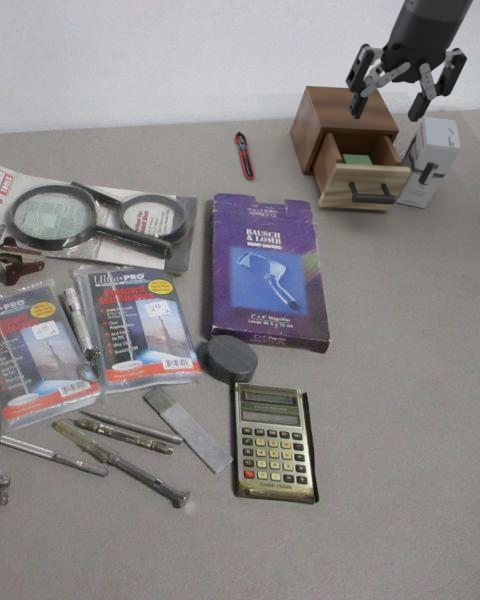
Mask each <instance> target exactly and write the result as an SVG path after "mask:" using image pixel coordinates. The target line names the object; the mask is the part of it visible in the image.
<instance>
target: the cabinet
mask: <svg viewBox="0 0 480 600" xmlns="http://www.w3.org/2000/svg"><path fill="white" fill-rule="evenodd" d="M354 93H355V92H354ZM354 93H352V92H351V91H350V90H349V88H348V87H338V86H317V85H313V86H312V85H306V86H305V88H304V91H303V93H302V97H301V100H300V102H299V105H298V108H297V111H296V114H295V117H294V119H293V122H292V125H291V129H290V131H289V135H290V137H291V140H292V144H293V147H294V150H295V154H296V157H297V159H298V160H297V161H298V163H299V166H300V170H301V173H302V175H306V176H307V175H308V176H315V175H314V172H313V169H312V166H311V164H312V162H313V159H314V157H315V154H316V152H317V149H318V147H319V144H320V142H321V139H322V137H323V134H324V132H325V131H332V132H351V133H371V134H388V136H389V138H390V140H391V142H392V144H393V145H394V142H395V141H396V139H397V137H398V134H399V133H400V129H399V127H398V126H397V123H396V121H395V120H394V118H393V116H392V114H391V111H390V110H389V108H388V106H387V103H386V102H385V100H384V98H383V96H382V94H381V92H380V91H379V88H377V89H376V90H375V91H374V92H372V93H371V94H370V95H368V97H369V98H368V101H367V103H366V105H365V107H364V110H363V112H362V114H361V117H360V119H353V117H352V115H351V113H350V111H349V106H350V104H351V101H352V98H353V96H354Z"/></svg>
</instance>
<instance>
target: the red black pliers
mask: <svg viewBox="0 0 480 600" xmlns="http://www.w3.org/2000/svg"><path fill="white" fill-rule="evenodd" d="M234 138H235V141H236V145H238V148H237V150H238V151H239V156H240V159H241V160H240V161H241V164H242V168H243V172H244V175H245V177H246V178H248V180H253V179H254V178H255V172H254V169H253V164H252V160H251V157H250V153H249V148H248V146H247V145H248V142H247V138H246V136H245V134H244V133H242V132H241V131H238V132H237V133H235V136H234ZM238 138H239V140H238ZM242 138H243V139H242ZM243 140H244V142H243ZM247 165H248V167H247Z"/></svg>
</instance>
